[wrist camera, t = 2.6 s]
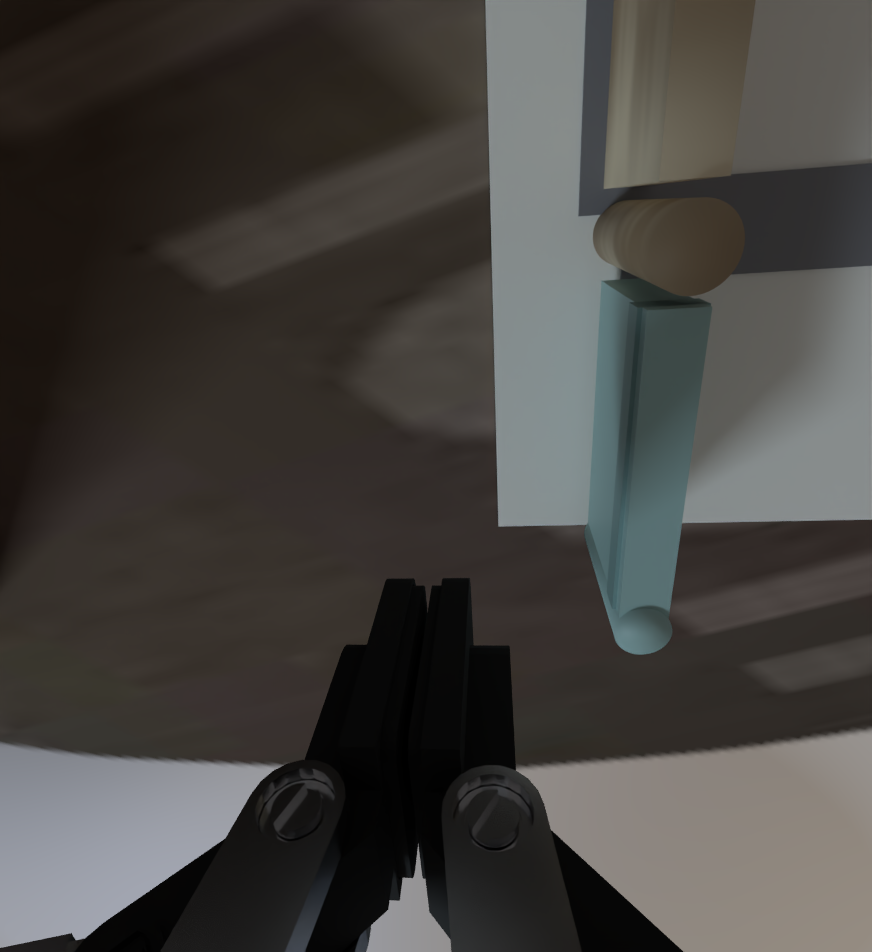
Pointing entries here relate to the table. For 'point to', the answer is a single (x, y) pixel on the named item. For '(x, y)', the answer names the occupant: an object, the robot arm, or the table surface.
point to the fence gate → (642, 451)
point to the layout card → (733, 302)
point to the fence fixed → (674, 138)
